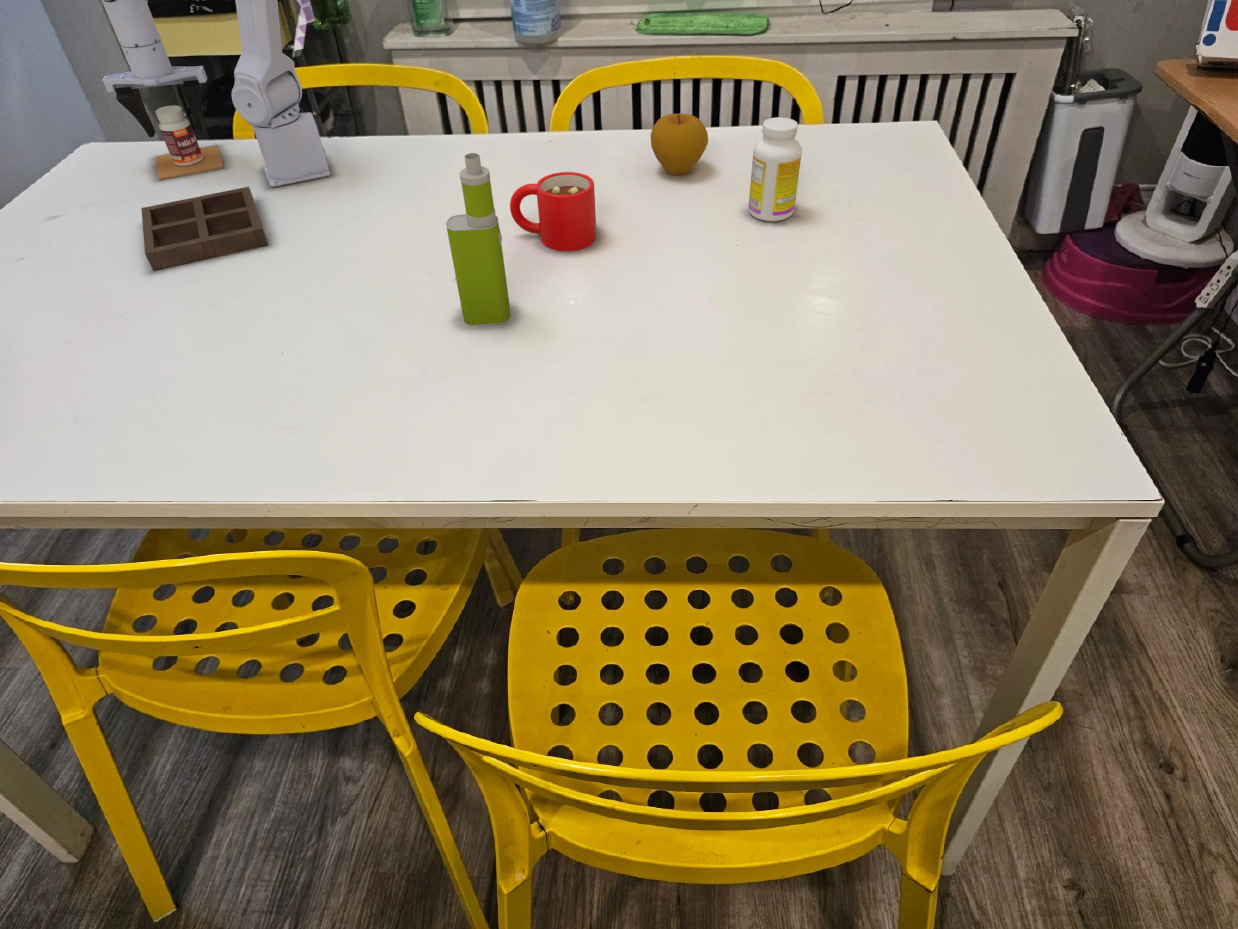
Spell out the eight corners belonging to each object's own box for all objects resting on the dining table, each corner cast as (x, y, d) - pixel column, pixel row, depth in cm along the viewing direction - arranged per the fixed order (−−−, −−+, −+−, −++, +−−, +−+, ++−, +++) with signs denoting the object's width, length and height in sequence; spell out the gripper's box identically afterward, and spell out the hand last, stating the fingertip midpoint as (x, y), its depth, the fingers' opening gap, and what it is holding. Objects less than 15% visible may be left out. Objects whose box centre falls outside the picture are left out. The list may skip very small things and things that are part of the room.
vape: (512, 323, 97) (490, 161, 83) (462, 326, 96) (432, 165, 83) (512, 306, 99) (491, 147, 86) (464, 309, 99) (435, 151, 85)
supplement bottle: (798, 206, 117) (811, 118, 108) (786, 226, 113) (798, 135, 104) (755, 199, 119) (764, 111, 111) (741, 218, 115) (749, 128, 106)
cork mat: (218, 146, 139) (217, 144, 138) (223, 168, 132) (223, 165, 132) (156, 158, 136) (155, 155, 135) (159, 180, 129) (158, 178, 129)
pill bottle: (189, 168, 131) (168, 116, 125) (167, 164, 133) (145, 112, 127) (210, 157, 134) (190, 106, 129) (188, 153, 136) (168, 102, 130)
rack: (254, 202, 122) (248, 186, 121) (268, 245, 112) (262, 228, 111) (148, 224, 118) (141, 207, 116) (153, 270, 108) (144, 253, 106)
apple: (703, 158, 131) (706, 102, 124) (709, 182, 124) (713, 123, 118) (648, 160, 130) (648, 104, 124) (652, 184, 124) (652, 125, 118)
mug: (518, 223, 116) (511, 170, 110) (599, 224, 115) (597, 171, 109) (507, 249, 110) (500, 195, 105) (593, 252, 109) (590, 197, 104)
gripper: (83, 54, 117) (125, 146, 126) (187, 44, 119) (221, 135, 129) (94, 40, 122) (133, 130, 131) (193, 31, 124) (225, 120, 134)
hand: (177, 132), depth 130 cm, fingers open, 7 cm apart
